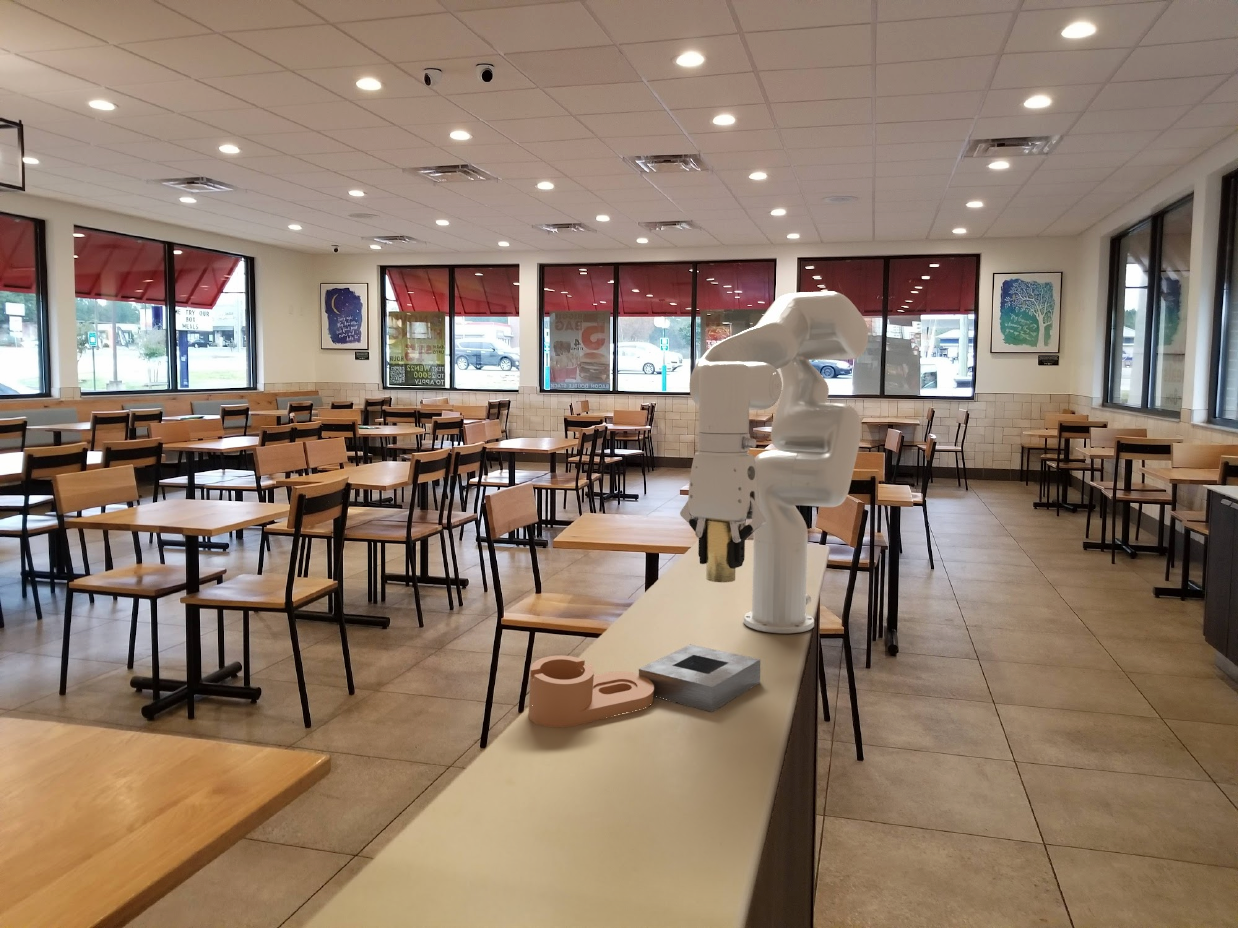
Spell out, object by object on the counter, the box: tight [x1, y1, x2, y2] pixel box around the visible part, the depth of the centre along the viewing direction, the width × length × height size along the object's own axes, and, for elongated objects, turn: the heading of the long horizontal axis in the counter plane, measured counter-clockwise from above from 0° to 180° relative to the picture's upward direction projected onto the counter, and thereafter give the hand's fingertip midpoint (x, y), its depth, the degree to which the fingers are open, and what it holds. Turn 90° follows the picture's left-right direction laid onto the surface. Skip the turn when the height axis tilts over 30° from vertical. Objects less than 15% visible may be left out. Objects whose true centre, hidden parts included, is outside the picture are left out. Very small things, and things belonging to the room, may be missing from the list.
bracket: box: [528, 654, 654, 728], centre depth 118 cm, size 18×8×7 cm, turn 120°
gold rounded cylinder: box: [705, 519, 736, 583], centre depth 132 cm, size 4×4×9 cm
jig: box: [638, 644, 761, 713], centre depth 126 cm, size 14×12×4 cm
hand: (721, 563), depth 133 cm, fingers closed on gold rounded cylinder, 4 cm apart
